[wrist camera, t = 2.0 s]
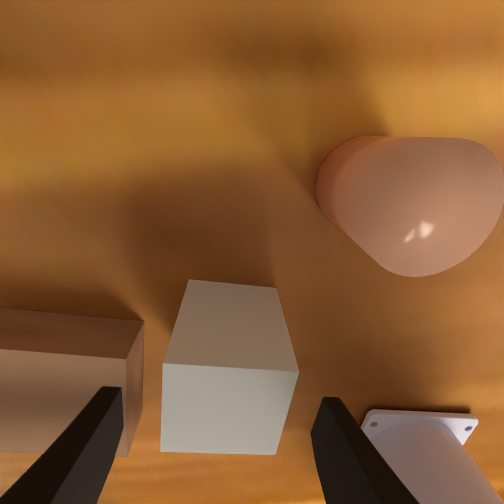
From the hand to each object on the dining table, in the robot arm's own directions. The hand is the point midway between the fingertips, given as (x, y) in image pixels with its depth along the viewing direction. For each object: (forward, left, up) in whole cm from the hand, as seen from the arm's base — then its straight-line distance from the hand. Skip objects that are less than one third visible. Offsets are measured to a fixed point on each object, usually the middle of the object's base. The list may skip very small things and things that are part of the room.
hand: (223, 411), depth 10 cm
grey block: (0, 0, -5) cm, 5 cm away
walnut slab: (-4, +8, -6) cm, 11 cm away
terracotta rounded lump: (+8, -5, -5) cm, 11 cm away
